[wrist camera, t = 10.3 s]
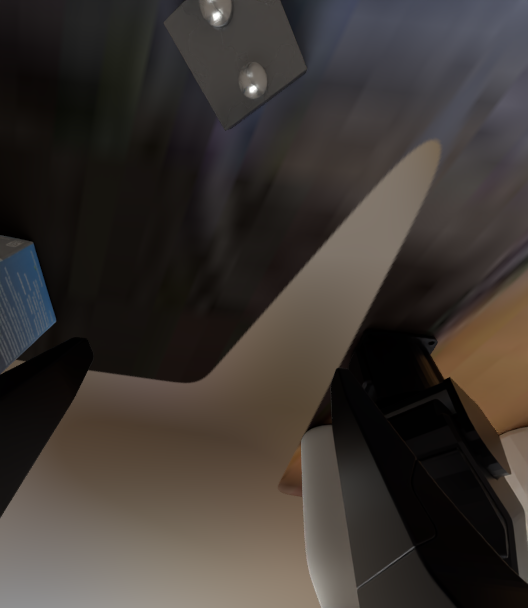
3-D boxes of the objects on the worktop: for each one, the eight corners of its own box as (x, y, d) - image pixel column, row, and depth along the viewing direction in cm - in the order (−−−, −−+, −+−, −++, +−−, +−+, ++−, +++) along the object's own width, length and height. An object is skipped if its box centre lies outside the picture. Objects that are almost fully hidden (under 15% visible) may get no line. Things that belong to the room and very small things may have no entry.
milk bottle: (288, 436, 37) (287, 699, 20) (335, 415, 33) (379, 713, 17) (326, 459, 39) (352, 707, 23) (373, 441, 36) (443, 721, 19)
